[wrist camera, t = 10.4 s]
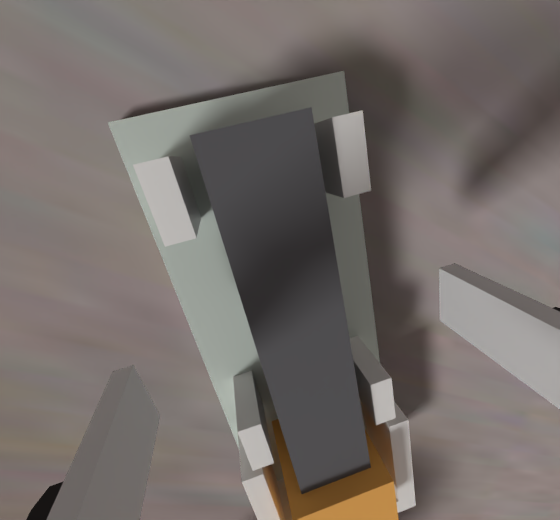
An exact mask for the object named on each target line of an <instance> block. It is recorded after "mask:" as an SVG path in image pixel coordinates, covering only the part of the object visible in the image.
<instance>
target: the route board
mask: <svg viewBox="0 0 560 520" xmlns="http://www.w3.org/2000/svg"><path fill="white" fill-rule="evenodd" d="M310 107H312V113H313V119H314V126H315V132H316V138H317V144H318V150H319V156H320V162H321V168H322V174H323V180H324V186H325V192H326V198H327V204H328V210H329V216H330V222H331V228H332V235H333V241H334V247H335V253H336V259H337V265H338V271H339V277H340V283H341V289H342V295H343V301H344V307H345V313H346V319H347V325H348V331H349V337H350V344H351V350H352V356H353V362H354V368H355V374H356V380H357V386H358V392H359V398H360V404H361V410H362V416H363V422H364V428H365V430H366V432H367V434H368V435H369V437H370V439H371V441H372V443H373V444H374V446H375V448H376V450H377V452H378V454H379V455H380V457H381V459H382V461H383V463H384V464H385V466H386V468H387V470H388V472H389V473H390V475H391V477H392V479H393V481H394V487H395V495H396V503H397V511H398V513H399V512H402V511H404V510H406V509H409V508H411V507H414V506H416V502H415V491H414V479H413V468H412V456H411V445H410V433H409V422H408V419H407V417H406V416H405V415H404V413H403V412H402V410H401V409H400V408H399V406H398V405H397V404H396V402H395V401H394V396H393V387H392V378H391V377H390V375H389V374H388V373H387V372H386V370H385V369H384V368H383V366H382V365H381V364H380V358H379V350H378V342H377V334H376V326H375V318H374V310H373V301H372V293H371V285H370V277H369V269H368V261H367V253H366V245H365V237H364V229H363V220H362V212H361V204H360V196H359V194H361V193H365V192H368V191H371V183H370V174H369V165H368V156H367V146H366V137H365V128H364V118H363V110H361V111H357V112H353V113H349V107H348V99H347V91H346V83H345V75H344V71H340V72H336V73H331V74H327V75H322V76H318V77H313V78H308V79H304V80H299V81H295V82H290V83H286V84H281V85H277V86H272V87H267V88H263V89H258V90H254V91H249V92H245V93H240V94H236V95H231V96H226V97H222V98H217V99H213V100H208V101H204V102H199V103H195V104H190V105H185V106H181V107H176V108H172V109H167V110H163V111H158V112H154V113H149V114H144V115H140V116H135V117H131V118H126V119H122V120H117V121H113V122H108V124H109V127H110V129H111V132H112V134H113V137H114V139H115V142H116V144H117V147H118V149H119V152H120V154H121V157H122V159H123V162H124V164H125V167H126V169H127V172H128V174H129V177H130V179H131V182H132V184H133V187H134V189H135V192H136V194H137V197H138V199H139V202H140V204H141V207H142V209H143V212H144V214H145V217H146V219H147V222H148V224H149V227H150V229H151V231H152V234H153V236H154V239H155V241H156V244H157V246H158V249H159V251H160V254H161V256H162V259H163V261H164V264H165V266H166V269H167V271H168V274H169V276H170V279H171V281H172V284H173V286H174V289H175V291H176V294H177V296H178V299H179V301H180V304H181V306H182V309H183V311H184V314H185V316H186V319H187V321H188V324H189V326H190V329H191V331H192V334H193V336H194V339H195V341H196V344H197V346H198V349H199V351H200V353H201V356H202V358H203V361H204V363H205V366H206V368H207V371H208V373H209V376H210V378H211V381H212V383H213V386H214V388H215V391H216V393H217V396H218V398H219V401H220V403H221V406H222V408H223V411H224V413H225V416H226V418H227V421H228V423H229V426H230V428H231V431H232V433H233V436H234V438H235V441H236V443H237V446H238V448H239V455H240V467H241V480H242V484H243V486H244V489H245V491H246V493H247V496H248V498H249V501H250V503H251V505H252V508H253V510H254V512H255V515H256V517H257V519H258V520H293V519H292V515H291V510H290V505H289V501H288V496H287V491H286V487H285V482H284V477H283V473H282V468H281V463H280V459H279V454H278V449H277V444H276V440H275V435H274V430H273V426H272V421H274V420H276V419H278V417H277V414H276V410H275V407H274V404H273V401H272V398H271V394H270V391H269V388H268V385H267V382H266V378H265V375H264V372H263V369H262V366H261V362H260V359H259V356H258V353H257V350H256V346H255V343H254V340H253V337H252V334H251V330H250V327H249V324H248V321H247V318H246V314H245V311H244V308H243V305H242V302H241V298H240V295H239V292H238V289H237V286H236V282H235V279H234V276H233V273H232V270H231V266H230V263H229V260H228V257H227V254H226V250H225V247H224V244H223V241H222V238H221V234H220V231H219V228H218V225H217V222H216V218H215V215H214V212H213V209H212V206H211V202H210V199H209V196H208V193H207V190H206V186H205V183H204V180H203V177H202V174H201V170H200V167H199V164H198V161H197V158H196V154H195V151H194V148H193V145H192V142H191V138H190V135H193V134H197V133H202V132H206V131H210V130H215V129H219V128H223V127H228V126H232V125H236V124H241V123H245V122H249V121H254V120H258V119H262V118H267V117H271V116H275V115H280V114H284V113H288V112H293V111H297V110H301V109H305V108H310Z"/></svg>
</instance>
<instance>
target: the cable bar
mask: <svg viewBox="0 0 560 520" xmlns="http://www.w3.org/2000/svg"><path fill="white" fill-rule="evenodd" d="M190 138H191V142H192V145H193V148H194V151H195V154H196V158H197V161H198V164H199V167H200V170H201V174H202V177H203V180H204V183H205V186H206V190H207V193H208V196H209V199H210V202H211V206H212V209H213V212H214V215H215V218H216V222H217V225H218V228H219V231H220V234H221V238H222V241H223V244H224V247H225V250H226V254H227V257H228V260H229V263H230V266H231V270H232V273H233V276H234V279H235V282H236V286H237V289H238V292H239V295H240V298H241V302H242V305H243V308H244V311H245V314H246V318H247V321H248V324H249V327H250V330H251V334H252V337H253V340H254V343H255V346H256V350H257V353H258V356H259V359H260V362H261V366H262V369H263V372H264V375H265V378H266V382H267V385H268V388H269V391H270V394H271V398H272V401H273V404H274V407H275V410H276V414H277V417H278V419H276V420H274V421H272V426H273V430H274V435H275V440H276V444H277V449H278V454H279V459H280V463H281V468H282V473H283V477H284V482H285V487H286V491H287V496H288V501H289V505H290V510H291V515H292V519H293V520H399V519H398V511H397V503H396V495H395V487H394V481H393V479H392V477H391V475H390V473H389V472H388V470H387V468H386V466H385V464H384V463H383V461H382V459H381V457H380V455H379V454H378V452H377V450H376V448H375V446H374V444H373V443H372V441H371V439H370V437H369V435H368V434H367V432H366V430H365V428H364V422H363V416H362V410H361V404H360V398H359V392H358V386H357V380H356V374H355V368H354V362H353V356H352V350H351V344H350V337H349V331H348V325H347V319H346V313H345V307H344V301H343V295H342V289H341V283H340V277H339V271H338V265H337V259H336V253H335V247H334V241H333V235H332V228H331V222H330V216H329V210H328V204H327V198H326V192H325V186H324V180H323V174H322V168H321V162H320V156H319V150H318V144H317V138H316V132H315V126H314V119H313V113H312V107H310V108H305V109H301V110H297V111H293V112H288V113H284V114H280V115H275V116H271V117H267V118H262V119H258V120H254V121H249V122H245V123H241V124H236V125H232V126H228V127H223V128H219V129H215V130H210V131H206V132H202V133H197V134H193V135H190Z"/></svg>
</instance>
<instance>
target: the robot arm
mask: <svg viewBox="0 0 560 520" xmlns="http://www.w3.org/2000/svg"><path fill="white" fill-rule="evenodd" d="M439 299H440V321H441V322H443V323H444V324H445V325H447V326H448V327H449V328H451V329H452V330H453V331H455V332H456V333H457V334H459V335H460V336H462V337H463V338H464V339H466V340H467V341H468V342H470V343H471V344H472V345H474V346H475V347H476V348H478V349H479V350H480V351H482V352H483V353H484V354H486V355H487V356H489V357H490V358H491V359H493V360H494V361H495V362H497V363H498V364H499V365H501V366H502V367H503V368H505V369H506V370H507V371H509V372H510V373H511V374H513V375H514V376H516V377H517V378H518V379H520V380H521V381H522V382H524V383H525V384H526V385H528V386H529V387H530V388H532V389H533V390H534V391H536V392H537V393H538V394H540V395H541V396H543V397H544V398H545V399H547V400H548V401H549V402H551V403H552V404H553V405H555V406H556V407H557V408H559V409H560V308H557V307H554V308H551V307H549V306H546V305H544V304H542V303H540V302H538V301H536V300H533V299H531V298H529V297H527V296H525V295H523V294H520V293H518V292H516V291H514V290H512V289H510V288H507V287H505V286H503V285H501V284H499V283H496V282H494V281H492V280H490V279H488V278H486V277H483V276H481V275H479V274H477V273H475V272H473V271H470V270H468V269H466V268H464V267H462V266H460V265H457V264H455V263H454V264H451V265H448V266H445V267H441V268H439ZM159 419H160V414H159V412H158V411H157V409H156V407H155V405H154V403H153V401H152V399H151V397H150V395H149V394H148V392H147V390H146V388H145V386H144V384H143V382H142V380H141V378H140V376H139V375H138V373H137V371H136V369H135V367H134V365H132V366H129V367H126V368H122V369H119V370H116V371H113V372H112V375H111V377H110V379H109V381H108V384H107V386H106V388H105V390H104V393H103V395H102V397H101V399H100V401H99V404H98V406H97V408H96V410H95V413H94V415H93V417H92V419H91V421H90V424H89V426H88V428H87V430H86V433H85V435H84V437H83V439H82V442H81V444H80V446H79V448H78V450H77V453H76V455H75V457H74V459H73V462H72V464H71V466H70V468H69V470H68V473H67V475H66V477H65V479H64V482H61V483H58V484H56V485H53V486H50V487H49V488H48V489H47V490H46V492H45V493H44V494H43V496H42V497H41V498H40V499H39V501H38V502H37V503H36V505H35V506H34V507H33V508H32V510H31V512H30V513H29V515H28V517H27V519H26V520H140V516H141V511H142V506H143V500H144V495H145V490H146V485H147V480H148V475H149V470H150V465H151V460H152V454H153V449H154V444H155V439H156V434H157V429H158V424H159Z"/></svg>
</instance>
